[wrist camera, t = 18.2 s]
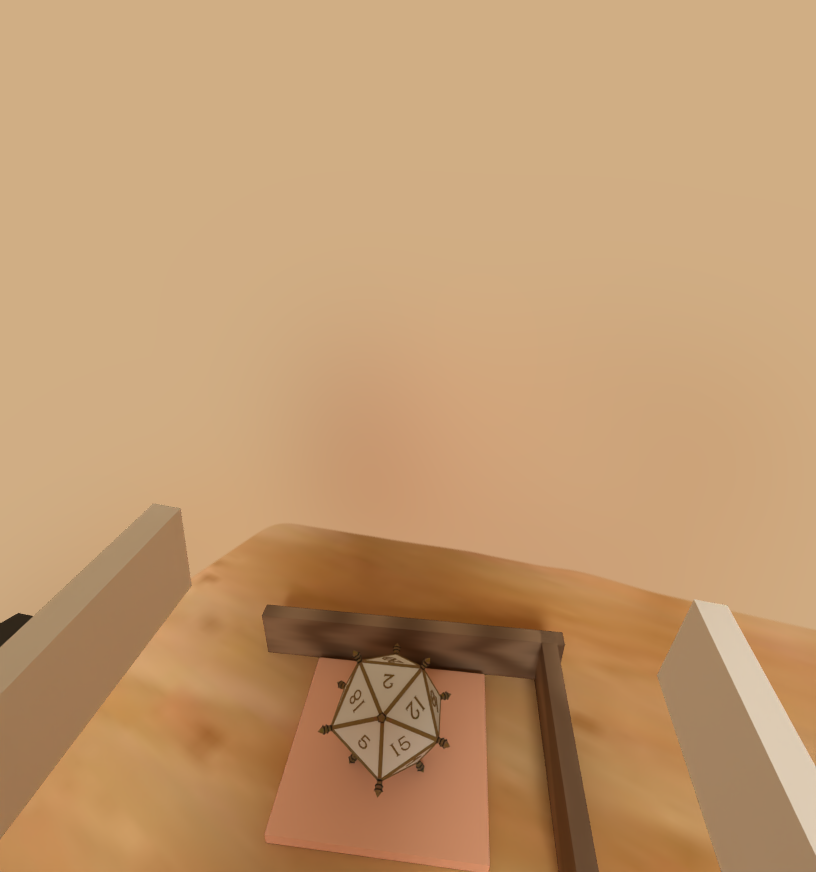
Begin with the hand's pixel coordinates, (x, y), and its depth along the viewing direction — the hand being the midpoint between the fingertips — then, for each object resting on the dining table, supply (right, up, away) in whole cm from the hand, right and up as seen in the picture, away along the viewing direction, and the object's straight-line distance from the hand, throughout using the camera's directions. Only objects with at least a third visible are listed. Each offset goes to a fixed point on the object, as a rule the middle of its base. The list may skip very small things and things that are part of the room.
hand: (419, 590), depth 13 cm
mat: (-2, -19, +24) cm, 31 cm away
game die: (-2, -19, +23) cm, 30 cm away
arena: (-2, -19, +24) cm, 31 cm away
